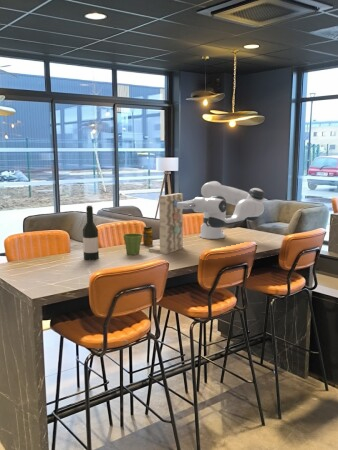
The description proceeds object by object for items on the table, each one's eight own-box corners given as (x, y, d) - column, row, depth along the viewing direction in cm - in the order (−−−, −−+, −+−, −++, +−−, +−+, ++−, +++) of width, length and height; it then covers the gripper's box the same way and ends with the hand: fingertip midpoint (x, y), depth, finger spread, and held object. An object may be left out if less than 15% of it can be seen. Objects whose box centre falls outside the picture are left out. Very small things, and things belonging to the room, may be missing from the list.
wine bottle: (80, 258, 246) (78, 205, 241) (92, 256, 252) (90, 204, 248) (90, 261, 241) (88, 207, 236) (101, 258, 247) (100, 205, 242)
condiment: (155, 245, 281) (155, 227, 279) (143, 247, 276) (143, 228, 274) (149, 243, 287) (149, 225, 285) (138, 245, 282) (137, 226, 280)
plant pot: (143, 255, 252) (142, 236, 251) (122, 256, 252) (122, 237, 250) (143, 251, 264) (143, 233, 262) (123, 251, 263) (123, 233, 262)
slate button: (171, 206, 264) (171, 198, 264) (180, 206, 261) (179, 199, 260) (167, 206, 261) (167, 199, 260) (176, 207, 258) (176, 200, 257)
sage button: (171, 232, 267) (171, 225, 266) (179, 233, 264) (179, 225, 263) (167, 233, 263) (167, 226, 263) (176, 234, 260) (176, 226, 259)
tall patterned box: (166, 245, 280) (166, 192, 274) (182, 247, 273) (182, 193, 268) (148, 251, 263) (147, 195, 258) (165, 254, 257) (165, 196, 251)
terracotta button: (171, 219, 266) (171, 212, 265) (179, 220, 263) (179, 212, 262) (167, 220, 262) (167, 212, 261) (176, 220, 259) (176, 213, 258)
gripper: (189, 212, 243) (168, 210, 251) (206, 208, 261) (186, 206, 268) (189, 201, 242) (168, 199, 250) (206, 197, 260) (186, 196, 267)
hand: (178, 203), depth 259 cm, fingers closed, pressing on slate button
